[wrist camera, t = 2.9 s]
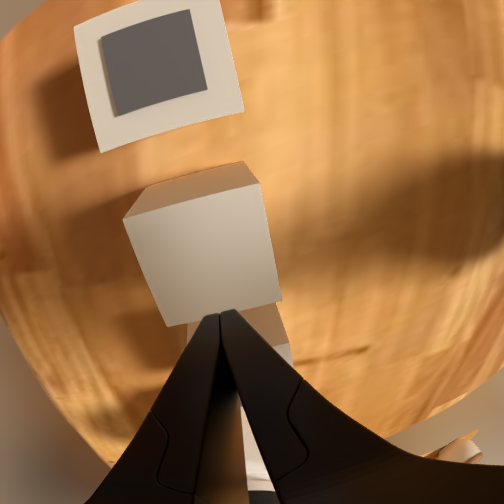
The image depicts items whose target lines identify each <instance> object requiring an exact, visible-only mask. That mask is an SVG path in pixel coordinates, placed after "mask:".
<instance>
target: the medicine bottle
mask: <svg viewBox="0 0 504 504" xmlns="http://www.w3.org/2000/svg"><path fill="white" fill-rule="evenodd" d="M241 419H242V431H243V442H244V453H245V464H246V475H247V485H248V495H249V504H280V502H279V500H278V497H277V495H276V492H275V490H274V487H273V484H272V482H271V480H270V478H269V475H268V473H267V470H266V467H265V465H264V462H263V460H262V457H261V455H260V452H259V449H258V447H257V444H256V442H255V439H254V436H253V434H252V431H251V428H250V425H249V423H248V420H247V417H246V414H245V413H241Z"/></svg>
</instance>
